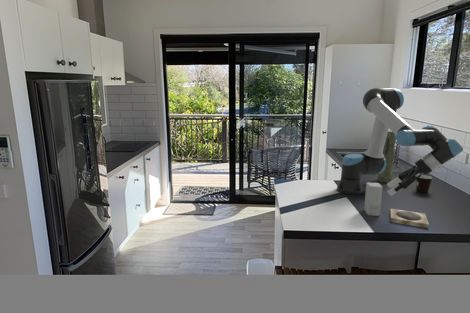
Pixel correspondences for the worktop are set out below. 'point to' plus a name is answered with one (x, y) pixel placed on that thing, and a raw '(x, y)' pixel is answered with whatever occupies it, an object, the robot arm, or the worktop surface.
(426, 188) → the coffee mug
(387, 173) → the olive green tapered column
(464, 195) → the worktop surface
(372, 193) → the skincare box
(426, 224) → the birch board
